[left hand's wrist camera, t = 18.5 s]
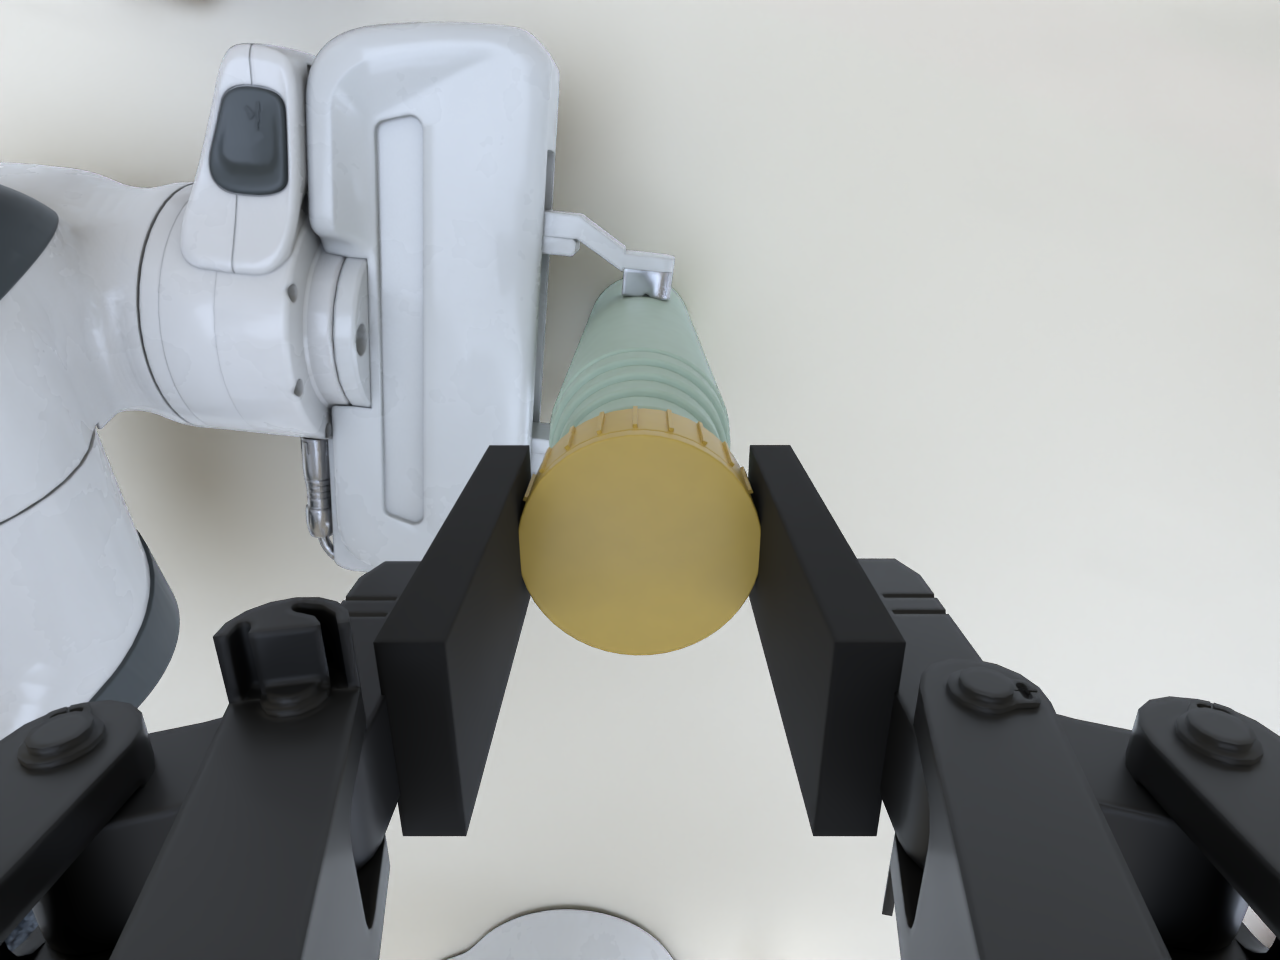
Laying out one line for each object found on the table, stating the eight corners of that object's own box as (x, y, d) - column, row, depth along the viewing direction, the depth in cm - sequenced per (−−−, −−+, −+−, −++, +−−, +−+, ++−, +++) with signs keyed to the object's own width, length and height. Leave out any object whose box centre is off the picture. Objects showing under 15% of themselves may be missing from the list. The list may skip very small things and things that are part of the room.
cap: (798, 518, 14) (817, 557, 13) (633, 648, 15) (633, 699, 14) (646, 355, 13) (647, 377, 12) (479, 509, 14) (461, 546, 13)
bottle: (575, 295, 33) (471, 464, 13) (671, 261, 33) (724, 378, 12) (609, 388, 35) (567, 672, 14) (702, 357, 34) (794, 604, 14)
